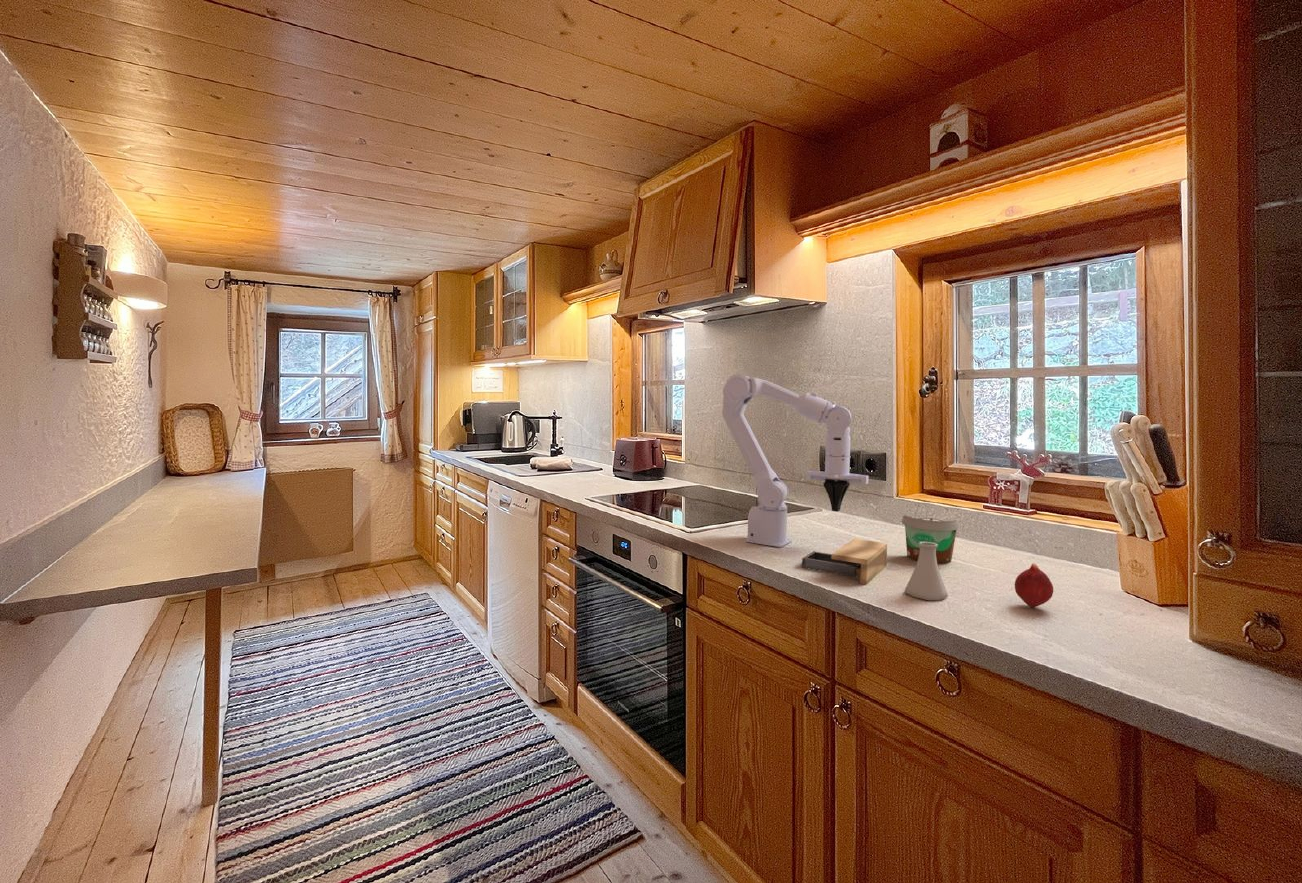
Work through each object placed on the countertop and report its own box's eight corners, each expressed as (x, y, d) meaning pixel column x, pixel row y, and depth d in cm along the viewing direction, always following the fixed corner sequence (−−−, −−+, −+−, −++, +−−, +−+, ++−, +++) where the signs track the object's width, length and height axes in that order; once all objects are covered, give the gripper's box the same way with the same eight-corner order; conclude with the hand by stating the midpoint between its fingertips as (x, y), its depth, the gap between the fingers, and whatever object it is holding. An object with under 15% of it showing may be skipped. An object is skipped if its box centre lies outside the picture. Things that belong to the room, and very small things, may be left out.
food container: (897, 561, 137) (899, 518, 136) (900, 554, 142) (902, 513, 141) (958, 568, 131) (960, 523, 130) (958, 561, 136) (960, 518, 135)
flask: (929, 604, 109) (932, 550, 108) (896, 592, 115) (898, 541, 114) (955, 598, 112) (958, 545, 111) (922, 586, 119) (924, 537, 118)
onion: (1059, 611, 105) (1062, 567, 105) (1034, 614, 104) (1037, 569, 103) (1030, 600, 111) (1033, 558, 110) (1005, 603, 109) (1008, 560, 109)
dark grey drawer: (802, 569, 131) (802, 558, 131) (813, 562, 137) (813, 551, 137) (857, 579, 124) (857, 567, 124) (866, 571, 130) (867, 559, 130)
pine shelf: (830, 578, 124) (831, 554, 123) (853, 560, 137) (854, 538, 136) (866, 584, 120) (867, 559, 119) (886, 565, 133) (887, 543, 132)
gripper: (802, 455, 146) (801, 509, 148) (863, 459, 138) (861, 516, 139) (813, 452, 152) (811, 505, 153) (871, 456, 144) (869, 512, 145)
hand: (836, 510), depth 147 cm, fingers closed
